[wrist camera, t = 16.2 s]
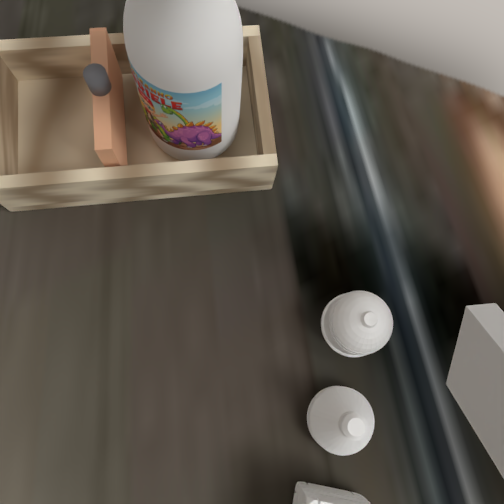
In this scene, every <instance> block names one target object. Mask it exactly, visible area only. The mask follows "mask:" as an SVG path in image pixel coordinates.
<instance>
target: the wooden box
mask: <svg viewBox="0 0 504 504" xmlns="http://www.w3.org/2000/svg"><path fill="white" fill-rule="evenodd" d="M242 30H243V67H242V86H241V102H240V116H239V126H238V131H237V134H236V137H235V139H234V141H233V142H232V144H231V145H230V146H229V147H228V149H226V150H225V151H224V152H223V153H222V154H220V155H219V156H217V157H215V158H212V159H201V160H189V161H182V160H179V159H176V158H174V157H172V156H170V155H168V154H167V153H165V152H164V151H163V150H162V149H161V148H160V147H159V146H158V145H157V144H156V142H155V140H154V139H153V137H152V134H151V132H150V129H149V126H148V123H147V120H146V117H145V113H144V110H143V107H142V104H141V100H140V97H139V94H138V91H137V87H136V84H135V81H134V77H133V74H132V70H131V67H130V63H129V59H128V55H127V51H126V47H125V41H124V33H111V34H108V35H109V38H110V41H111V44H112V47H113V50H114V52H115V55H116V58H117V61H118V64H119V67H120V70H121V73H122V77H123V94H124V111H125V128H126V145H127V162H128V165H127V166H115V167H104V165H103V163H102V162H101V160H100V158H99V157H98V155H97V153H96V152H95V147H94V123H93V99H92V93H91V91H90V90H89V88H88V85H87V83H86V81H85V79H84V77H83V70H84V69H85V67H86V66H88V65H89V64H91V51H90V35H76V36H59V37H41V38H24V39H6V40H0V204H1V205H2V206H4V207H5V208H6V209H8V210H9V211H11V212H14V211H26V210H37V209H49V208H60V207H72V206H83V205H94V204H106V203H117V202H129V201H140V200H152V199H163V198H175V197H186V196H198V195H209V194H221V193H232V192H244V191H255V190H267V189H272V186H273V182H274V179H275V175H276V171H277V168H278V161H277V154H276V146H275V139H274V132H273V125H272V117H271V110H270V103H269V95H268V88H267V81H266V74H265V66H264V59H263V52H262V44H261V37H260V30H259V25H251V26H242Z"/></svg>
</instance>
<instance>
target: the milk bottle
mask: <svg viewBox="0 0 504 504" xmlns="http://www.w3.org/2000/svg"><path fill="white" fill-rule="evenodd" d="M123 32H124V41H125V47H126V51H127V55H128V59H129V63H130V67H131V70H132V74H133V77H134V81H135V84H136V87H137V91H138V94H139V97H140V100H141V104H142V107H143V110H144V113H145V117H146V120H147V123H148V126H149V129H150V132H151V134H152V137H153V139H154V140H155V142H156V144H157V145H158V146H159V147H160V148H161V149H162V150H163V151H164V152H165V153H167V154H168V155H170V156H172V157H174V158H176V159H179V160H182V161H189V160H201V159H212V158H215V157H217V156H219V155H220V154H222V153H223V152H224V151H225V150H226V149H228V147H229V146H230V145H231V144H232V142H233V141H234V139H235V137H236V134H237V131H238V126H239V116H240V102H241V86H242V67H243V30H242V23H241V17H240V13H239V10H238V6H237V4H236V1H235V0H126V3H125V9H124V15H123Z"/></svg>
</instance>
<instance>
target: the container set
mask: <svg viewBox="0 0 504 504" xmlns="http://www.w3.org/2000/svg"><path fill="white" fill-rule="evenodd" d="M392 329H393V318H392V314H391V311H390V309H389V307H388V306H387V304H386V303H385V302H384V301H383V300H382V299H381V298H380V297H378V296H377V295H375V294H373V293H370V292H367V291H352V292H348V293H345V294H342V295H339V296H337V297H335V298H334V299H332V300H331V301H330V302H329V303H328V304H327V306H326V307H325V309H324V311H323V313H322V317H321V331H322V334H323V337H324V339H325V341H326V343H327V344H328V345H329V346H330V347H331V348H332V349H333V350H334V351H335V352H337V353H339V354H341V355H343V356H346V357H362V356H365V355H368V354H371V353H374V352H376V351H378V350H380V349H381V348H382V347H383V346H384V345H385V344H386V343H387V342H388V340H389V338H390V336H391V334H392ZM374 421H375V420H374V414H373V411H372V408H371V406H370V404H369V402H368V401H367V399H366V398H365V397H364V396H363V395H362V394H361V393H359V392H358V391H356V390H354V389H352V388H349V387H344V386H330V387H327V388H325V389H323V390H321V391H320V392H318V393H317V394H316V395H315V396H314V398H313V399H312V400H311V402H310V405H309V407H308V411H307V425H308V428H309V432H310V434H311V435H312V437H313V439H314V440H315V441H316V442H317V443H318V444H319V445H320V446H321V447H322V448H324V449H325V450H326V451H328V452H330V453H332V454H335V455H342V456H345V455H351V454H354V453H357V452H358V451H360V450H362V449H363V448H364V447H365V446H366V445H367V444H368V442H369V441H370V439H371V437H372V434H373V431H374ZM295 492H296V493H294V498H293V504H371V503H370V502H369V501H368V500H367V499H366V498H365V497H363V495H361V494H358V493H355V492H350V491H346V490H341V489H336V488H332V487H327V486H322V485H317V484H312V483H306V482H303V481H299V482H297V484H296V486H295Z"/></svg>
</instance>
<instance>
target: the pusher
mask: <svg viewBox="0 0 504 504" xmlns="http://www.w3.org/2000/svg"><path fill="white" fill-rule="evenodd" d="M90 51H91V64H89V65H88V66H86V67H85V69H84V70H83V77H84V79H85V81H86V83H87V85H88V88H89V90H90V91H91V93H92V99H93V123H94V147H95V152H96V153H97V155H98V157H99V158H100V160H101V162H102V163H103V165H104V167H115V166H127V165H128V162H127V145H126V128H125V111H124V94H123V77H122V73H121V70H120V67H119V64H118V61H117V58H116V55H115V52H114V50H113V47H112V44H111V41H110V38H109V35H108V32H107V29H106V27H104V28H90Z"/></svg>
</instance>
